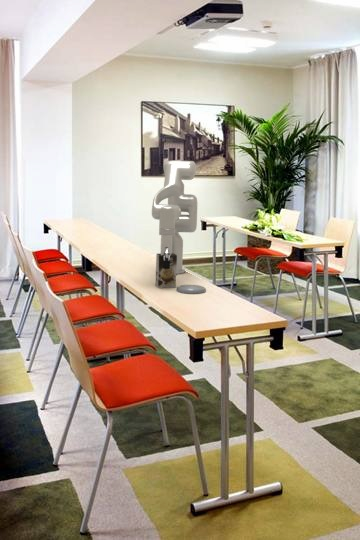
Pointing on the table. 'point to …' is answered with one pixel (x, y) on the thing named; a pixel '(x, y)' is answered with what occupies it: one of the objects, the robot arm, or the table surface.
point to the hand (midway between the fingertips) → (166, 267)
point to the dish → (191, 289)
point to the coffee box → (166, 272)
